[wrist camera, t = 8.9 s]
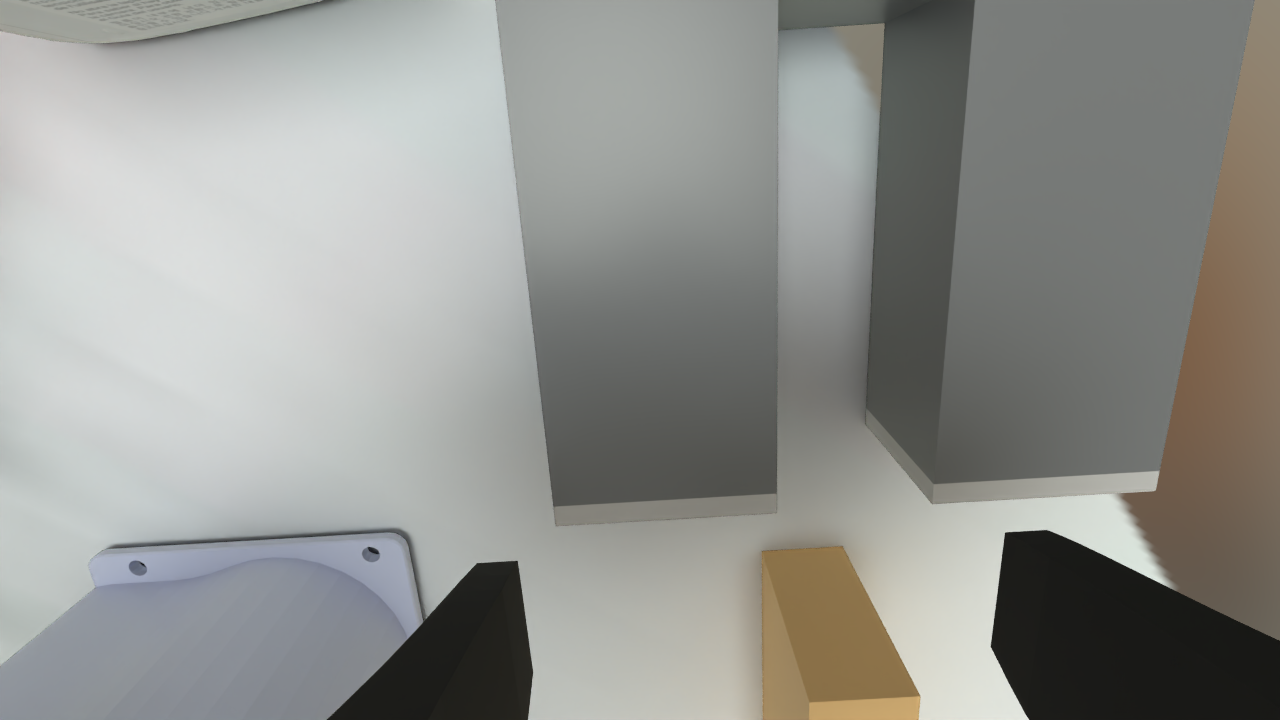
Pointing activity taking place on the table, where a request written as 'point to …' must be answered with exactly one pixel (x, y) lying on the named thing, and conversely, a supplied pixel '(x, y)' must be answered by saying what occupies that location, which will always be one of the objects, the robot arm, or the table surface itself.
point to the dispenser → (903, 244)
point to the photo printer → (126, 17)
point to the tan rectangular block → (827, 643)
